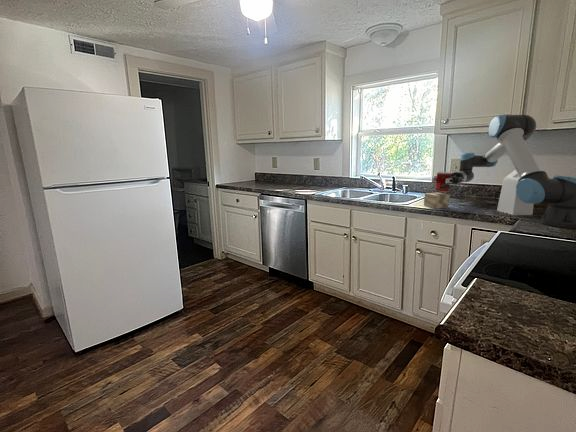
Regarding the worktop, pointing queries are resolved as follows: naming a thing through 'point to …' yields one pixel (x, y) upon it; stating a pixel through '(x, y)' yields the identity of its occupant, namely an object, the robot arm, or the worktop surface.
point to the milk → (512, 197)
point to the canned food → (442, 181)
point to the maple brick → (436, 200)
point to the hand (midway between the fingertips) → (439, 180)
